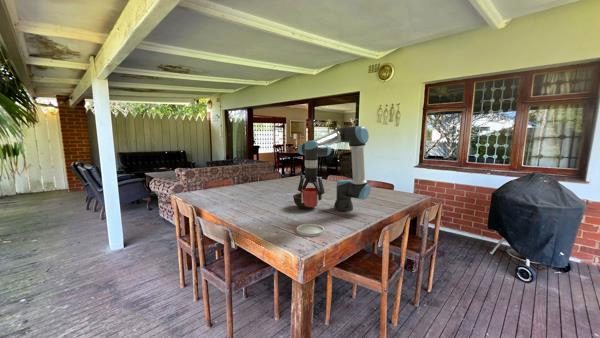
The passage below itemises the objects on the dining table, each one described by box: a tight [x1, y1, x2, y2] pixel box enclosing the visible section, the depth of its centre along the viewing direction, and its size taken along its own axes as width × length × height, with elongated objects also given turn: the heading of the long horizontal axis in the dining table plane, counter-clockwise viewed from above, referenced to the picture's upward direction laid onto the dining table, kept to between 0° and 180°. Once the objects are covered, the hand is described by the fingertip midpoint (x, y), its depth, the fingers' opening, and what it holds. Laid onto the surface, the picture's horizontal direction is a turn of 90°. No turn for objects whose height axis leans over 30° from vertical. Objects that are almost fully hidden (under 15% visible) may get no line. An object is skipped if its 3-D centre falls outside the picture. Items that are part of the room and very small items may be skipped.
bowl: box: [292, 192, 317, 210], centre depth 208 cm, size 22×22×10 cm
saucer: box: [296, 223, 325, 238], centre depth 158 cm, size 17×17×2 cm
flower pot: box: [302, 187, 318, 208], centre depth 156 cm, size 11×11×10 cm
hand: (310, 203), depth 156 cm, fingers closed on flower pot, 10 cm apart
